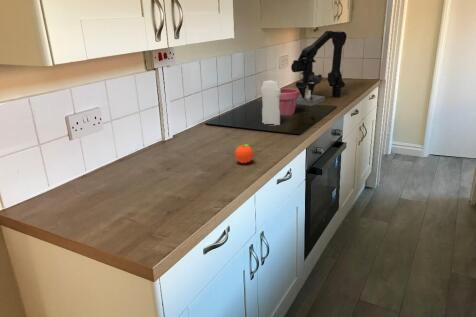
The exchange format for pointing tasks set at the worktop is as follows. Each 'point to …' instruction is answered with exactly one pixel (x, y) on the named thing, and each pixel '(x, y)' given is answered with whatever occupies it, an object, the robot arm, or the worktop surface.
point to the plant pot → (288, 101)
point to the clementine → (244, 153)
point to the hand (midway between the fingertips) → (307, 96)
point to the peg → (307, 94)
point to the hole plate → (310, 100)
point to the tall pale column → (270, 102)
